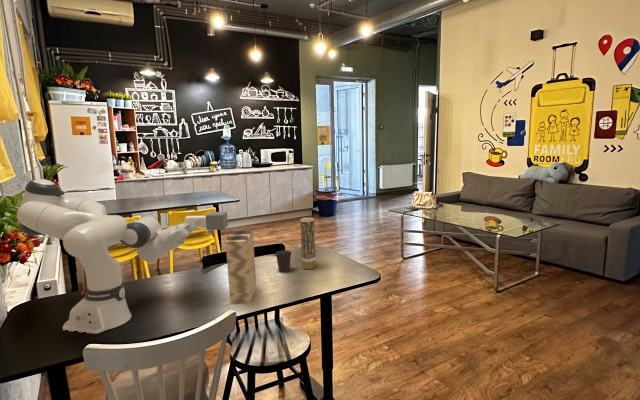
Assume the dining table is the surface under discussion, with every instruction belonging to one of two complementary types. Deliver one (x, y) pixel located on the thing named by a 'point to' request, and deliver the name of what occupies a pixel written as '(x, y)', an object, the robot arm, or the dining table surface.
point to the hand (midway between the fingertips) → (201, 219)
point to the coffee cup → (283, 260)
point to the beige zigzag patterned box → (241, 266)
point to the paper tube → (308, 243)
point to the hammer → (210, 220)
